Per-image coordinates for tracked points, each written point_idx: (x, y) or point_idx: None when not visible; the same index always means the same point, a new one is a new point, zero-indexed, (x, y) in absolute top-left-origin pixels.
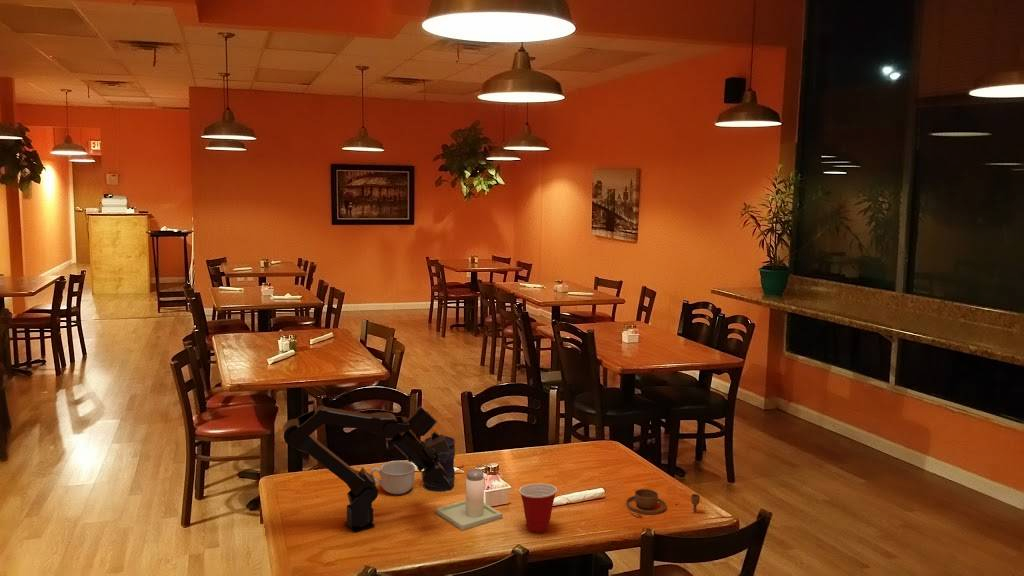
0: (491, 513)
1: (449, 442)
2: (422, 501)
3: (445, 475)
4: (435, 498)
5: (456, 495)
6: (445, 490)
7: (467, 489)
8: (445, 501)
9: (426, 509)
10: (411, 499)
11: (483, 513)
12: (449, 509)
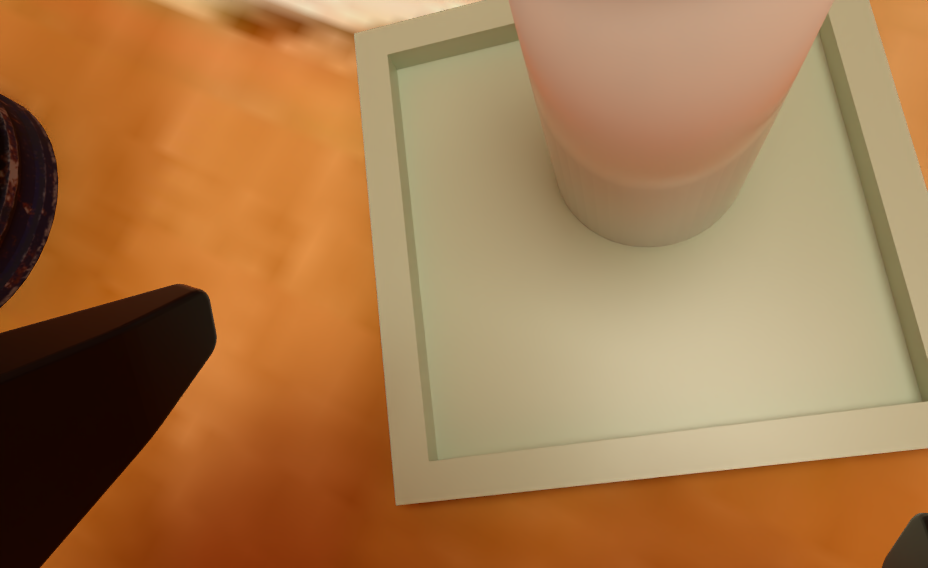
0: None
1: None
2: (120, 487)
3: (175, 337)
4: None
5: (173, 152)
6: (51, 202)
7: (692, 111)
8: (227, 289)
9: (289, 539)
10: None
11: None
12: (433, 346)
